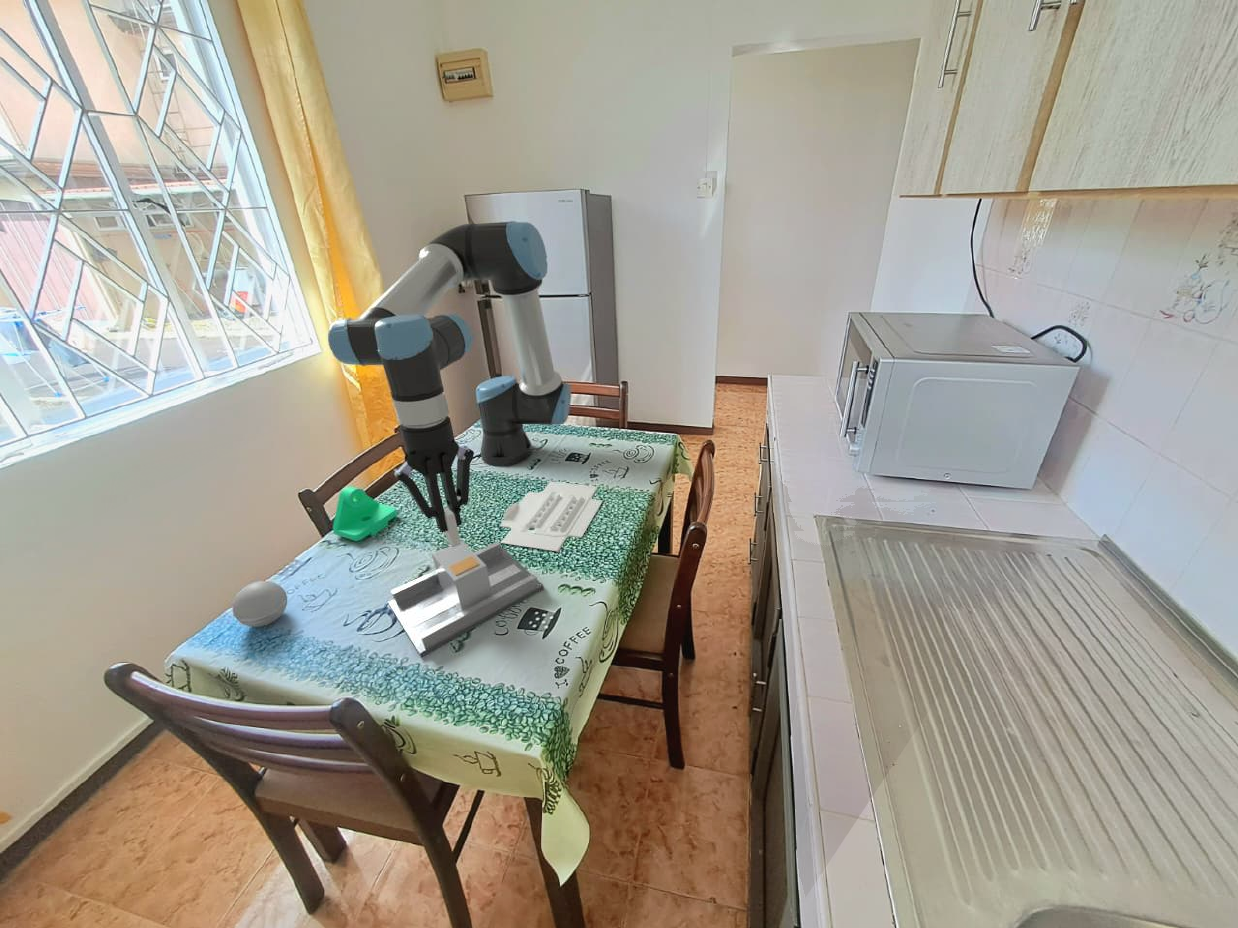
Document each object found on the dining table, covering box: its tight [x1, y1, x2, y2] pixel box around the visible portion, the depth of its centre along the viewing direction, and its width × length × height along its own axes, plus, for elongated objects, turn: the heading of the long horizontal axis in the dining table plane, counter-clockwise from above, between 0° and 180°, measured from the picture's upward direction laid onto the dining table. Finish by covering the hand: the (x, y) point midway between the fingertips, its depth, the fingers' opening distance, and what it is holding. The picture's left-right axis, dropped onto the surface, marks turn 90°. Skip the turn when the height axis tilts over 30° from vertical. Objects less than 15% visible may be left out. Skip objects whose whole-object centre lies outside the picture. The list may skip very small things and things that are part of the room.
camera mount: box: [332, 485, 398, 542], centre depth 113 cm, size 12×8×10 cm, turn 156°
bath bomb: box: [232, 580, 288, 628], centre depth 88 cm, size 8×8×8 cm
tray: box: [499, 481, 604, 553], centre depth 117 cm, size 20×28×4 cm
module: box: [431, 540, 493, 612], centre depth 90 cm, size 6×10×8 cm, turn 40°
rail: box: [388, 541, 545, 658], centre depth 92 cm, size 24×16×3 cm, turn 130°
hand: (454, 542), depth 87 cm, fingers closed
